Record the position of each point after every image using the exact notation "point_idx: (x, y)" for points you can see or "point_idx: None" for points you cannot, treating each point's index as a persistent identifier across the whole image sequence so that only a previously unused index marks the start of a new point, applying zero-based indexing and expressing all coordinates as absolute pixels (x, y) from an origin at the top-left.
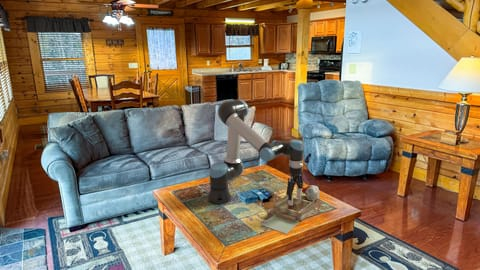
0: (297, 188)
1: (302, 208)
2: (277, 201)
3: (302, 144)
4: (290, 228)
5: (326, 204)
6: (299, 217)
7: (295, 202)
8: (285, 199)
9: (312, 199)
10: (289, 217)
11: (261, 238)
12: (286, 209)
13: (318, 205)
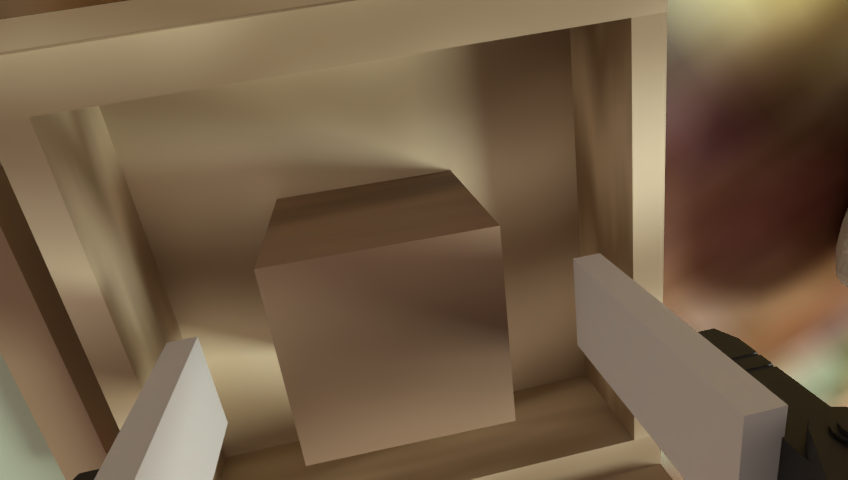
0: (740, 437)
1: (516, 305)
2: (83, 16)
3: None
4: None
5: (828, 389)
6: None
7: (353, 403)
8: (436, 28)
9: (845, 253)
10: (48, 434)
11: None
12: (88, 346)
13: (754, 347)
